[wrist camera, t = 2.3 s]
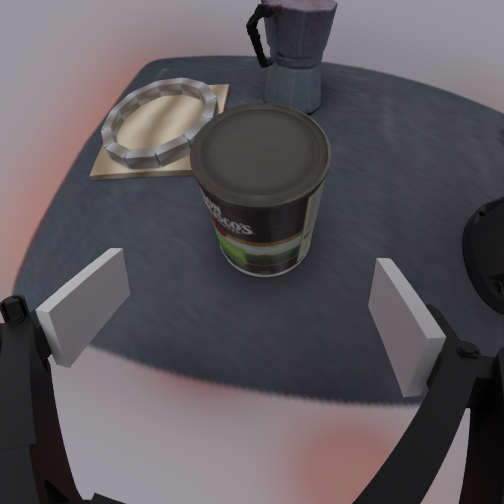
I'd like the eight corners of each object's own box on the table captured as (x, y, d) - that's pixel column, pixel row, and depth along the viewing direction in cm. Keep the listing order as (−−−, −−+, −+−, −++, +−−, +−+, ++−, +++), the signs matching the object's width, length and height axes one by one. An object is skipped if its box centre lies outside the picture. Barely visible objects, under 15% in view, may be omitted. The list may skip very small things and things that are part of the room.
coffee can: (260, 298, 31) (249, 236, 19) (201, 230, 35) (164, 146, 22) (331, 238, 34) (360, 152, 21) (270, 180, 37) (266, 87, 24)
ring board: (229, 89, 45) (226, 72, 42) (212, 175, 38) (207, 156, 35) (129, 99, 47) (123, 85, 43) (93, 180, 40) (82, 165, 36)
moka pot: (343, 92, 44) (359, -17, 25) (287, 141, 40) (288, 4, 21) (295, 70, 47) (296, -32, 28) (234, 114, 43) (216, -9, 24)
